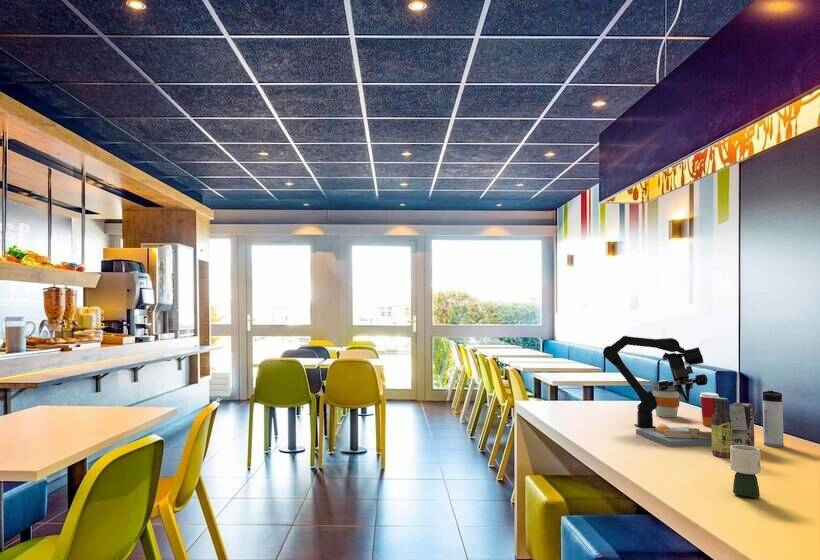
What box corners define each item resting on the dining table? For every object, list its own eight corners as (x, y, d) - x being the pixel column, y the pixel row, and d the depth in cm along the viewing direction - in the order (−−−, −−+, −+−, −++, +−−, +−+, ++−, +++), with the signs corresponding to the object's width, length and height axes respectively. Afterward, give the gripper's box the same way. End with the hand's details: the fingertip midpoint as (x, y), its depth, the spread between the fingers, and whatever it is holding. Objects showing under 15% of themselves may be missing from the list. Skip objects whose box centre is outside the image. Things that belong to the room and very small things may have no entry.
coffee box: (749, 452, 198) (748, 406, 198) (729, 449, 202) (728, 404, 203) (755, 447, 204) (754, 403, 205) (735, 444, 209) (734, 401, 209)
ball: (658, 421, 220) (652, 432, 221) (670, 429, 216) (663, 439, 217) (662, 421, 223) (656, 432, 224) (674, 429, 220) (667, 439, 221)
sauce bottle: (725, 459, 188) (723, 400, 189) (707, 454, 194) (706, 397, 195) (737, 456, 191) (735, 398, 192) (719, 452, 197) (718, 396, 198)
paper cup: (715, 424, 246) (714, 392, 246) (723, 427, 238) (722, 395, 239) (697, 423, 246) (696, 392, 247) (704, 427, 239) (703, 394, 240)
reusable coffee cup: (679, 419, 255) (678, 386, 256) (650, 416, 262) (649, 384, 263) (682, 415, 266) (682, 383, 267) (654, 412, 273) (654, 381, 273)
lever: (663, 434, 214) (662, 405, 214) (722, 437, 209) (722, 408, 210) (665, 436, 210) (665, 407, 211) (726, 439, 206) (725, 409, 206)
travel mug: (781, 444, 209) (780, 391, 210) (785, 448, 203) (783, 393, 204) (762, 442, 212) (761, 389, 213) (765, 446, 206) (763, 392, 207)
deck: (636, 433, 226) (636, 428, 226) (688, 431, 230) (688, 427, 230) (669, 446, 204) (669, 441, 205) (726, 444, 209) (726, 439, 209)
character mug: (769, 503, 145) (767, 453, 146) (739, 501, 146) (737, 452, 147) (752, 490, 156) (751, 443, 156) (725, 488, 157) (724, 442, 158)
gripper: (653, 363, 231) (663, 399, 223) (702, 356, 225) (714, 392, 217) (654, 372, 240) (663, 407, 232) (701, 366, 234) (712, 401, 226)
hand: (687, 402), depth 226 cm, fingers closed
